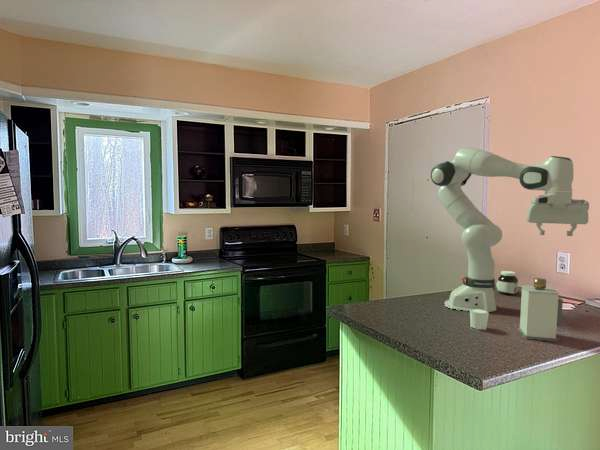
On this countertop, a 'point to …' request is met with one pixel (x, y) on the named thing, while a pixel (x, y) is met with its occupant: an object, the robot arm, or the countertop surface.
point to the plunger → (539, 283)
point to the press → (540, 313)
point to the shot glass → (478, 318)
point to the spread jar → (507, 283)
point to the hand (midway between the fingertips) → (555, 235)
